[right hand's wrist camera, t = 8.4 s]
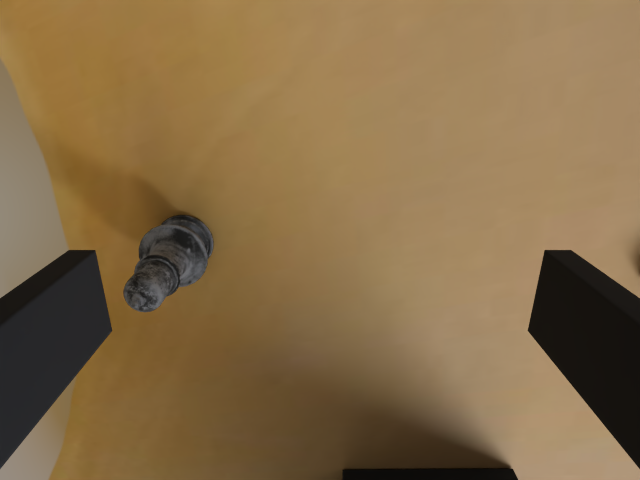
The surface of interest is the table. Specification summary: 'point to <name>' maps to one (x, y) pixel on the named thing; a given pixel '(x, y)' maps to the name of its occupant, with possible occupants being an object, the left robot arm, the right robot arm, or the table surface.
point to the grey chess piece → (168, 261)
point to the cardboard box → (431, 474)
